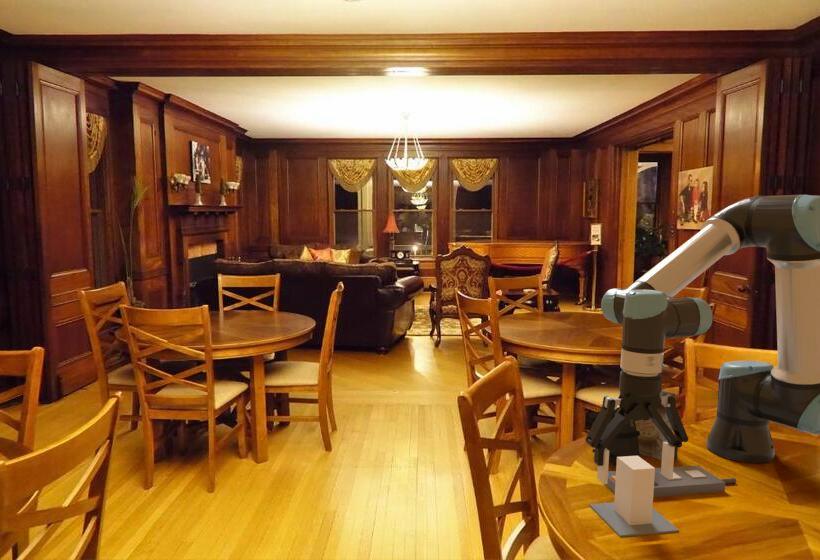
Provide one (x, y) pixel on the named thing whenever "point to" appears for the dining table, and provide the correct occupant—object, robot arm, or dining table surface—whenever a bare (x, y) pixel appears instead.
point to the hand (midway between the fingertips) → (634, 478)
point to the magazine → (621, 440)
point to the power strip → (682, 482)
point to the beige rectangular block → (634, 490)
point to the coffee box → (652, 434)
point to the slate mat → (625, 529)
